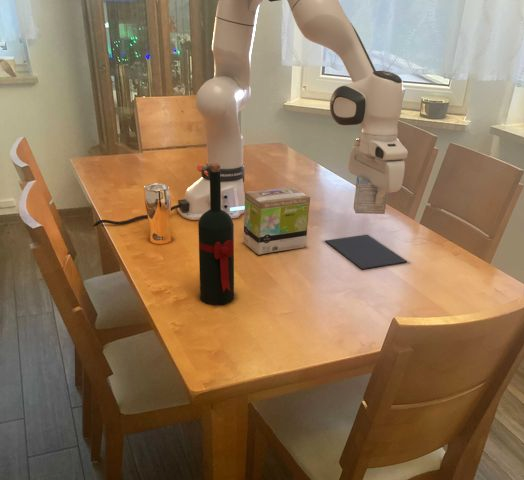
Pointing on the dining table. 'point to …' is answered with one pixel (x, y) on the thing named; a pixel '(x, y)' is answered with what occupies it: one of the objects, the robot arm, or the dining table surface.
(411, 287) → the dining table surface
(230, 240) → the wine bottle
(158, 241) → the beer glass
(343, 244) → the felt mat
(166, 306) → the dining table surface
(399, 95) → the robot arm
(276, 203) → the tea box
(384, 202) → the medicine box
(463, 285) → the dining table surface
